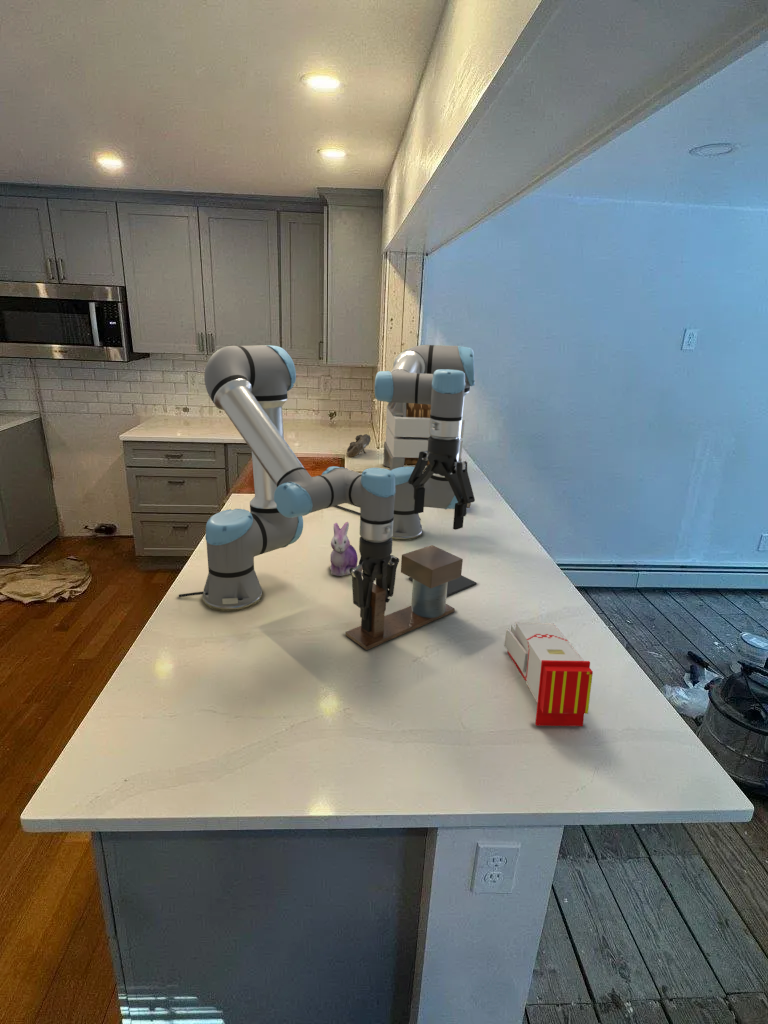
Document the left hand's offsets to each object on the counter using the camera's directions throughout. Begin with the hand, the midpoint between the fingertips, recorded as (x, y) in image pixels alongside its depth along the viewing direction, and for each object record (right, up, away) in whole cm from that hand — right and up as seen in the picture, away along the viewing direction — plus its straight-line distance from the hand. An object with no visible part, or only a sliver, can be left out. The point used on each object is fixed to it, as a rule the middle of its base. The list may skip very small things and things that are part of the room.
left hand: (372, 626), depth 136 cm
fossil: (-11, +59, +170) cm, 181 cm away
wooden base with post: (+7, 0, +7) cm, 10 cm away
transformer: (+20, +46, +139) cm, 148 cm away
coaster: (+20, +7, +30) cm, 36 cm away
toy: (+36, -9, -14) cm, 40 cm away
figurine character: (+34, +29, +93) cm, 103 cm away
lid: (+15, +12, +9) cm, 21 cm away
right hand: (+16, +26, +6) cm, 31 cm away
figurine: (-9, +10, +34) cm, 37 cm away
